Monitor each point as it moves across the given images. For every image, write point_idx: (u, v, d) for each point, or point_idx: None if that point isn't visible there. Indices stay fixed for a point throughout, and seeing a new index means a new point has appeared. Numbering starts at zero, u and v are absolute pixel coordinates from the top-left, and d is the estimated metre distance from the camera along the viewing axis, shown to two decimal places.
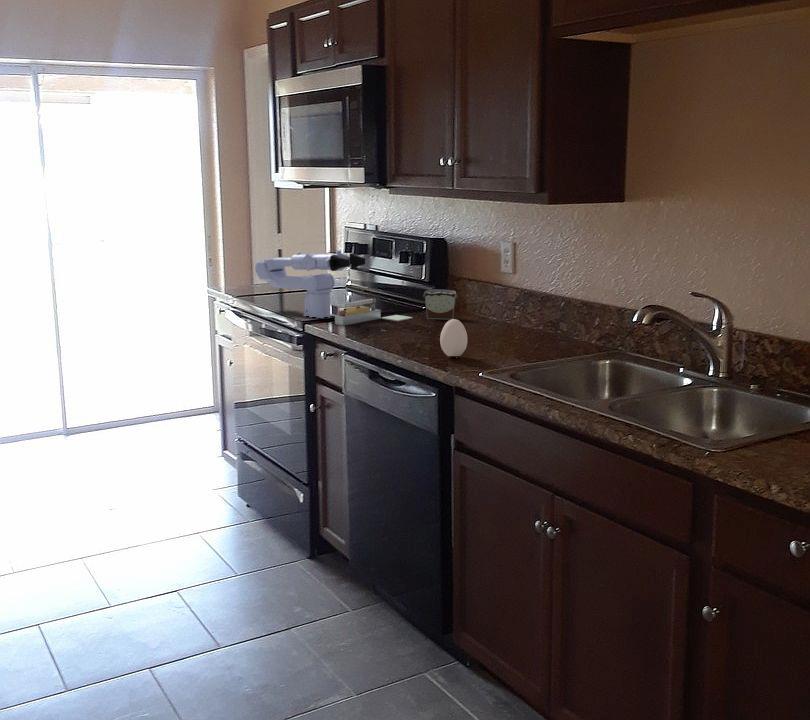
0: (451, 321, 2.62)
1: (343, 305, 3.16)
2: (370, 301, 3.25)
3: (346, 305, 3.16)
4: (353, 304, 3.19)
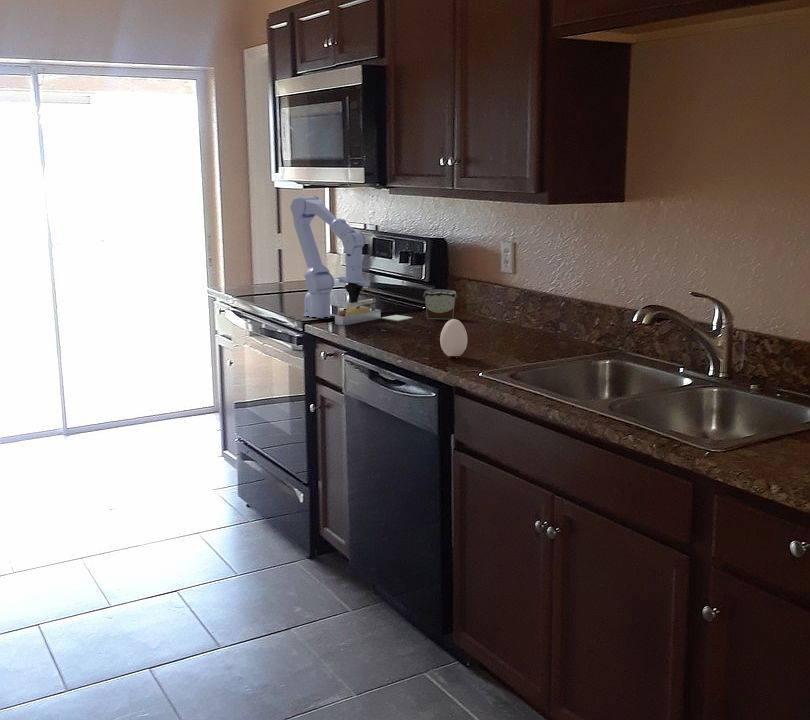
0: (451, 321, 2.62)
1: (345, 305, 3.15)
2: (370, 301, 3.25)
3: (348, 305, 3.16)
4: (355, 304, 3.18)
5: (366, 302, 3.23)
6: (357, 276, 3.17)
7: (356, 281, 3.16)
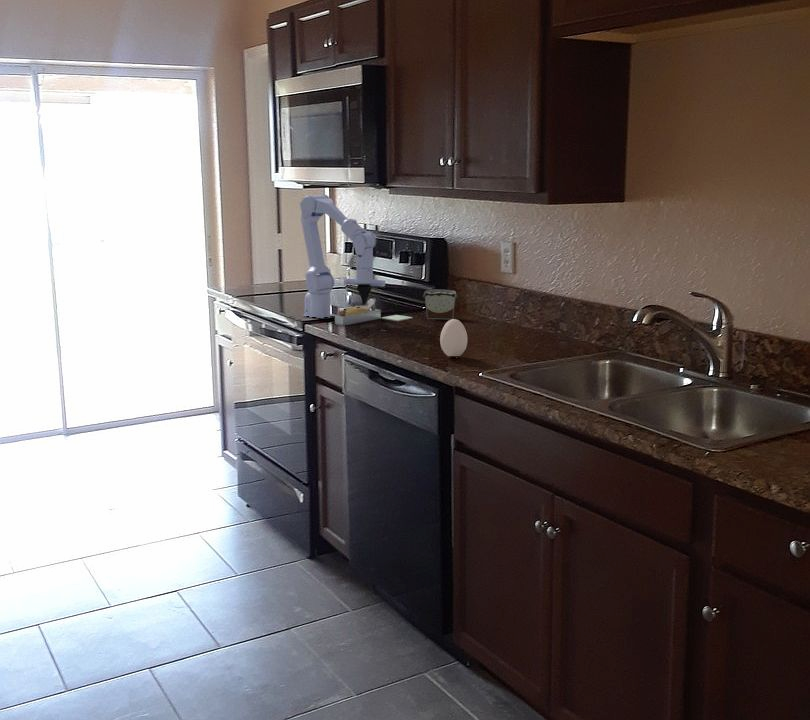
0: (451, 321, 2.62)
1: (366, 307, 3.13)
2: (374, 301, 3.25)
3: (368, 306, 3.13)
4: (370, 305, 3.17)
5: (373, 302, 3.23)
6: (371, 276, 3.15)
7: (372, 282, 3.14)
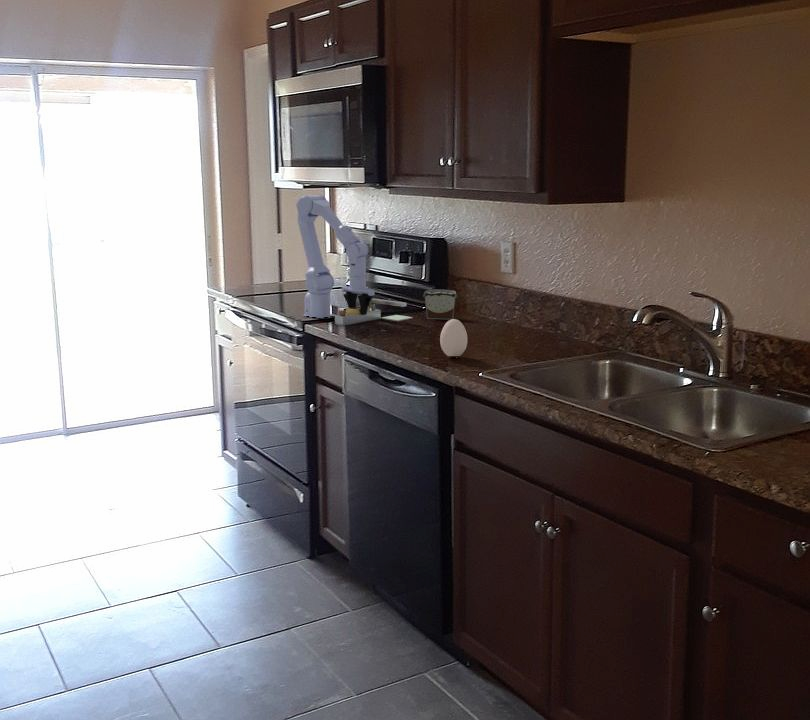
0: (451, 321, 2.62)
1: (405, 304, 3.18)
2: None
3: None
4: None
5: None
6: (361, 285, 3.18)
7: (360, 290, 3.17)
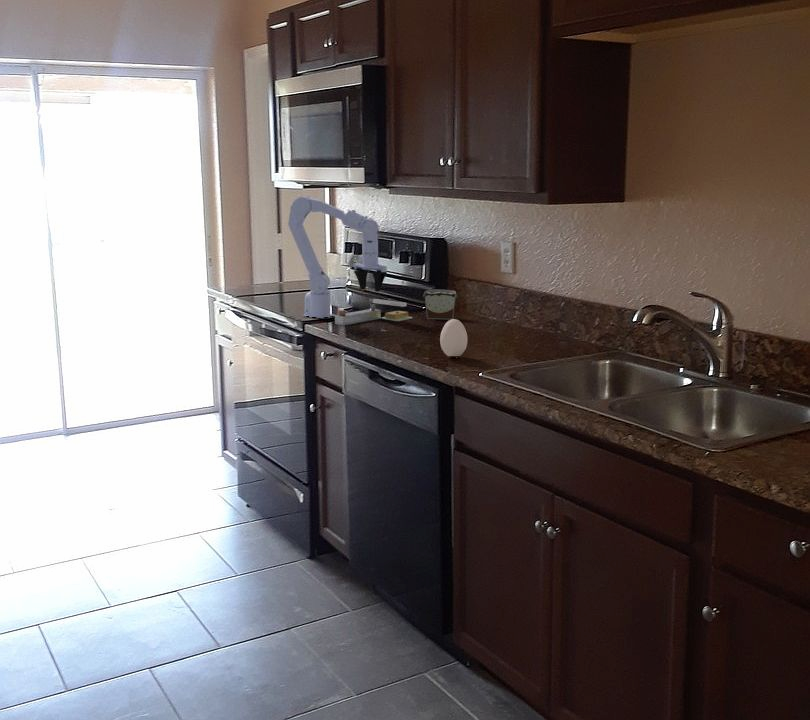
0: (451, 321, 2.62)
1: (405, 304, 3.18)
2: None
3: None
4: None
5: None
6: (374, 262, 3.25)
7: (373, 267, 3.24)
